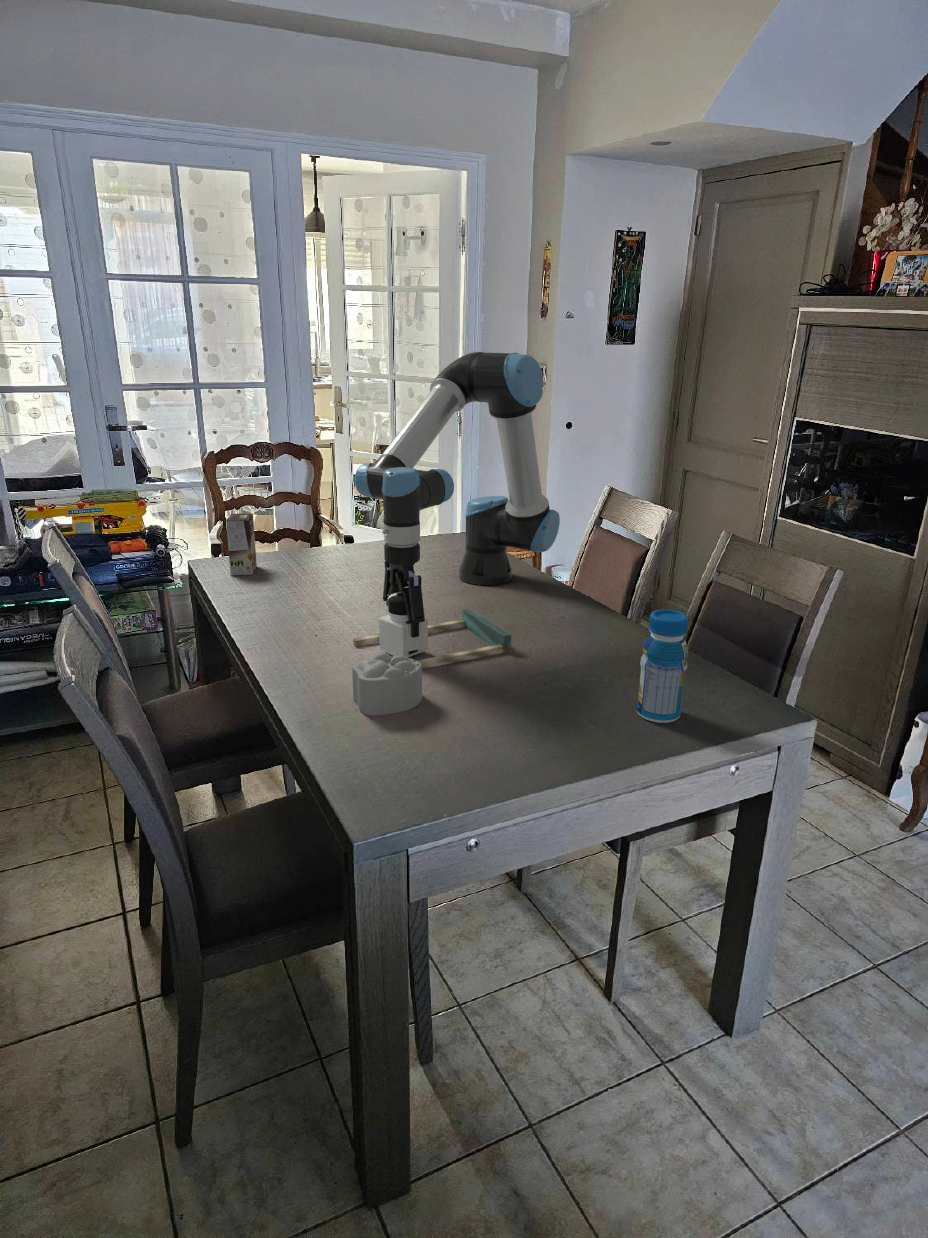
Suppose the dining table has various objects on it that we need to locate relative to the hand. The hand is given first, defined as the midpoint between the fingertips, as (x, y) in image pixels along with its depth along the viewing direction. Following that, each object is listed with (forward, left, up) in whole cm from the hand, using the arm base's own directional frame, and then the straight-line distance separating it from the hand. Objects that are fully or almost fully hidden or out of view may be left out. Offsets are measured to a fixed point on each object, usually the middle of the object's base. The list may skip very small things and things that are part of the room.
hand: (403, 641), depth 175 cm
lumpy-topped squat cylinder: (+12, +20, -3) cm, 24 cm away
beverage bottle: (-31, +48, -3) cm, 57 cm away
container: (0, 0, -2) cm, 2 cm away
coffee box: (+16, -76, -3) cm, 78 cm away
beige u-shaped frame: (-7, 0, -3) cm, 7 cm away
